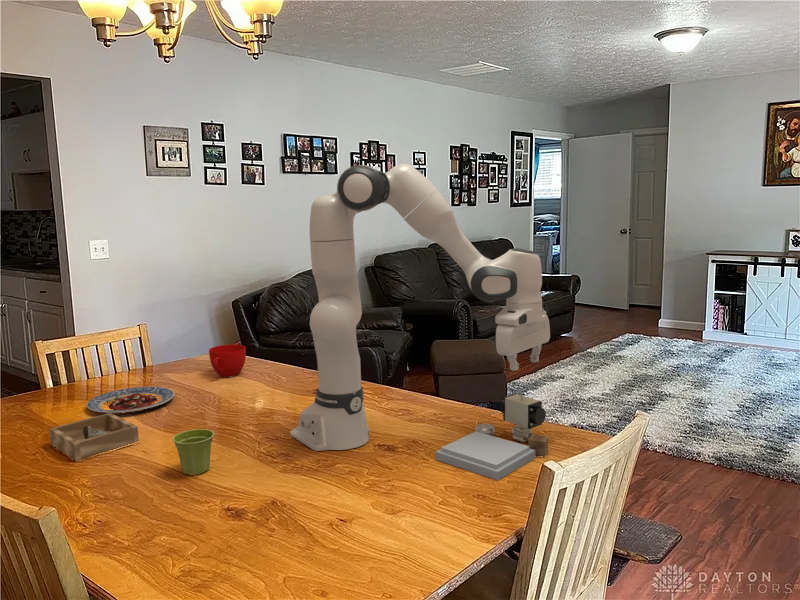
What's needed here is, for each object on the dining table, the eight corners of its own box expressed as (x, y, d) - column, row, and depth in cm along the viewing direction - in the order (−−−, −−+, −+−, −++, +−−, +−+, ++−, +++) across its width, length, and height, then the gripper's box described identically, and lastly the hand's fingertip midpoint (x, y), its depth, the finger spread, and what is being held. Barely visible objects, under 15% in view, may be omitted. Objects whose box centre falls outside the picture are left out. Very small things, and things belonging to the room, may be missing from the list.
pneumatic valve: (534, 448, 161) (534, 402, 159) (499, 435, 170) (499, 392, 168) (548, 442, 164) (548, 397, 162) (513, 430, 173) (513, 387, 171)
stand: (435, 459, 156) (435, 447, 155) (474, 440, 167) (474, 429, 167) (497, 480, 143) (497, 467, 143) (535, 458, 155) (535, 446, 155)
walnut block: (528, 455, 157) (528, 440, 156) (531, 449, 160) (531, 434, 160) (544, 457, 155) (545, 442, 155) (547, 451, 159) (548, 436, 158)
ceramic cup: (199, 382, 226) (197, 355, 225) (220, 369, 243) (218, 344, 241) (233, 383, 224) (232, 355, 223) (252, 370, 241) (251, 344, 239)
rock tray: (51, 445, 171) (49, 428, 170) (111, 429, 182) (109, 412, 181) (76, 462, 159) (74, 444, 158) (139, 443, 171) (137, 426, 170)
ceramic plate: (192, 399, 208) (191, 391, 208) (120, 424, 187) (119, 414, 186) (141, 388, 222) (141, 380, 221) (70, 410, 200) (69, 401, 200)
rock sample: (127, 427, 169) (97, 409, 167) (109, 453, 165) (78, 435, 162) (119, 434, 177) (90, 416, 175) (101, 458, 173) (72, 441, 170)
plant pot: (173, 466, 155) (171, 432, 154) (214, 459, 159) (211, 426, 158) (177, 482, 147) (173, 446, 146) (219, 474, 151) (216, 438, 149)
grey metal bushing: (471, 436, 170) (471, 427, 170) (482, 431, 174) (482, 422, 174) (487, 441, 167) (487, 431, 167) (498, 435, 171) (497, 426, 170)
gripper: (535, 305, 172) (535, 355, 174) (490, 317, 157) (491, 372, 159) (556, 307, 168) (556, 358, 170) (512, 320, 153) (513, 376, 155)
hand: (524, 365), depth 164 cm, fingers open, 8 cm apart
